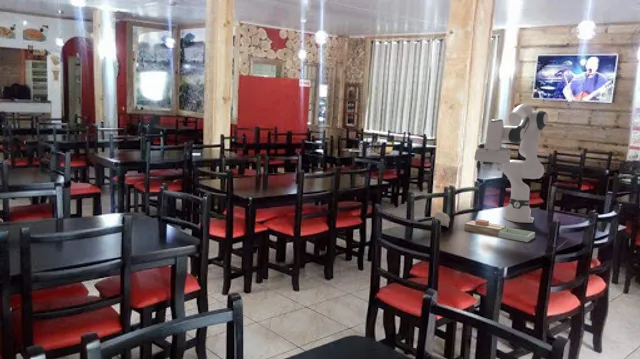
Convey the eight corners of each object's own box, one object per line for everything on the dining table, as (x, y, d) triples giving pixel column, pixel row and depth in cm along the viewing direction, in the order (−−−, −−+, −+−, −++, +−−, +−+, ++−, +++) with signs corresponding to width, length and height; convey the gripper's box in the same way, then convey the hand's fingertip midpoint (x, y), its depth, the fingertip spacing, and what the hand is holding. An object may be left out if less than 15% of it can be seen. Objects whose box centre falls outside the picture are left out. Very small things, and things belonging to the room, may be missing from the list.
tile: (478, 222, 322) (479, 219, 322) (488, 224, 319) (489, 220, 319) (475, 224, 318) (475, 220, 317) (485, 225, 314) (485, 222, 314)
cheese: (437, 224, 310) (452, 205, 316) (427, 220, 316) (441, 202, 321) (444, 241, 319) (458, 223, 325) (434, 237, 325) (448, 219, 330)
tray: (505, 232, 318) (506, 227, 318) (534, 237, 309) (535, 232, 309) (497, 236, 306) (498, 231, 306) (527, 242, 297) (527, 236, 296)
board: (471, 226, 329) (472, 220, 328) (505, 232, 317) (506, 226, 317) (464, 230, 318) (464, 223, 318) (498, 236, 307) (499, 229, 306)
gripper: (513, 148, 317) (510, 171, 319) (478, 145, 329) (476, 167, 330) (509, 148, 312) (507, 172, 313) (474, 145, 323) (472, 168, 325)
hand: (490, 170), depth 322 cm, fingers open, 8 cm apart
